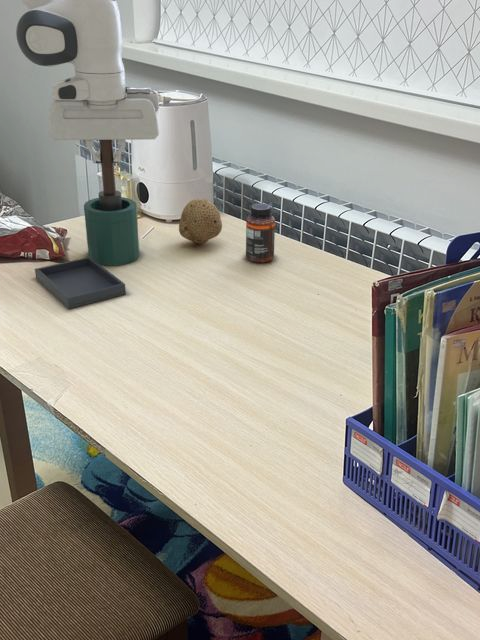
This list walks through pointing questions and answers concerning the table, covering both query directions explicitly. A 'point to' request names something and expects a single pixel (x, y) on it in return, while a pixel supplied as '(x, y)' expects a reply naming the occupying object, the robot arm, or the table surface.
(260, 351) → the table surface
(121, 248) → the jar
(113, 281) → the tray
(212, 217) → the natural sponge
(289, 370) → the table surface
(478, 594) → the table surface
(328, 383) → the table surface
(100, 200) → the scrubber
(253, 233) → the supplement bottle
